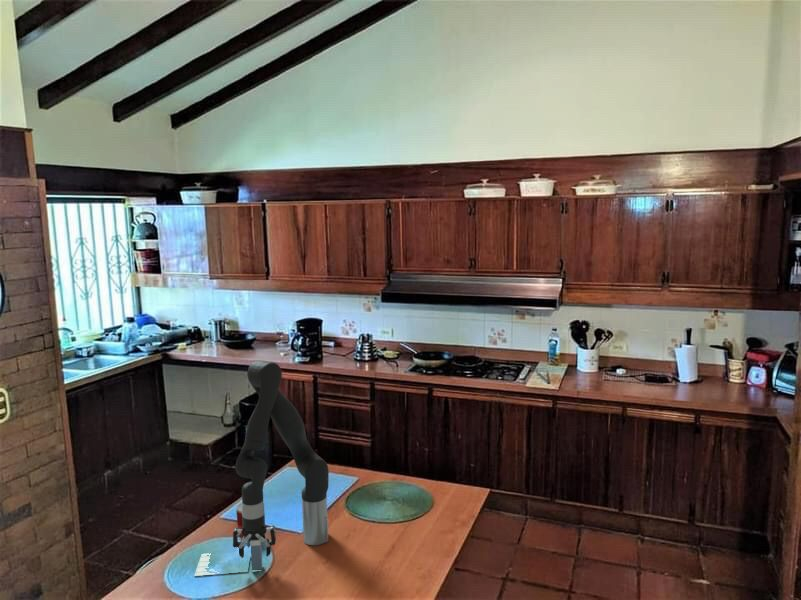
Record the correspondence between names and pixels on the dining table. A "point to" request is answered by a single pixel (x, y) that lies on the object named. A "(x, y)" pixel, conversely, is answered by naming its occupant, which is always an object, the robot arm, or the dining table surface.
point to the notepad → (204, 566)
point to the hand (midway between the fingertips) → (255, 556)
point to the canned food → (239, 518)
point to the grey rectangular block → (256, 554)
